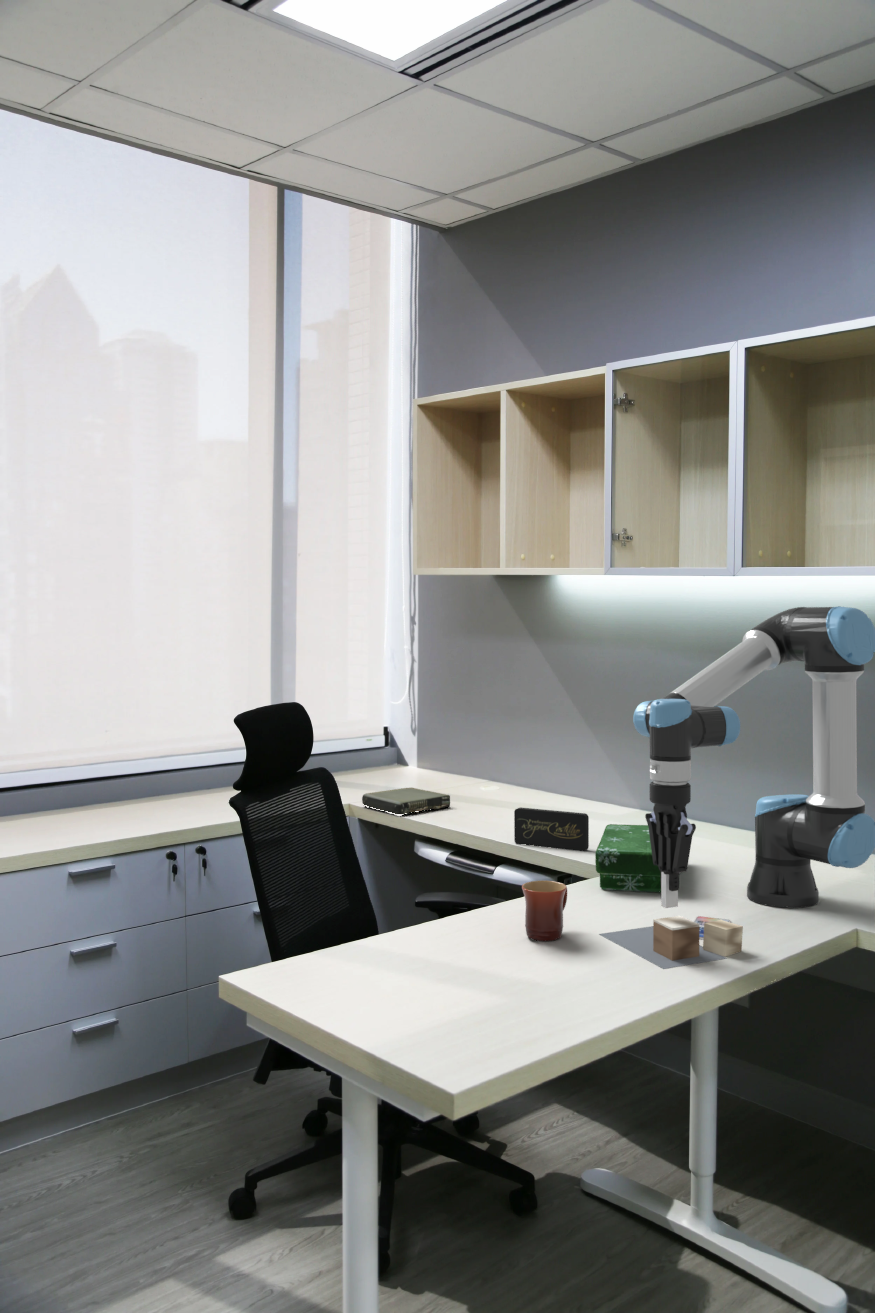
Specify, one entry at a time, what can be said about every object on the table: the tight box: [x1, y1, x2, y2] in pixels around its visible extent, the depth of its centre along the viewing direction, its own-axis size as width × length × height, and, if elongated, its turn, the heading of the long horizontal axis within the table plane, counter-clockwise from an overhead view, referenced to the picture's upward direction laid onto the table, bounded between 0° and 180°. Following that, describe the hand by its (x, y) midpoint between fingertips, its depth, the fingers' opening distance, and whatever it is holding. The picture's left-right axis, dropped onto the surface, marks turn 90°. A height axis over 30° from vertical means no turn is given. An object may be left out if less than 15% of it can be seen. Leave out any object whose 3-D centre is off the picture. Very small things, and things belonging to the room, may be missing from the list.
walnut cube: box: [652, 915, 700, 961], centre depth 196 cm, size 6×6×6 cm
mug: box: [521, 880, 568, 942], centre depth 208 cm, size 12×9×10 cm
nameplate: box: [513, 807, 590, 852], centre depth 285 cm, size 21×2×10 cm, turn 61°
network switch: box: [361, 787, 451, 814], centre depth 343 cm, size 23×23×5 cm
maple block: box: [702, 920, 744, 957], centre depth 197 cm, size 5×5×5 cm
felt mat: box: [598, 925, 728, 970], centre depth 200 cm, size 14×22×1 cm, turn 23°
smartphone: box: [692, 915, 732, 941], centre depth 211 cm, size 7×1×15 cm
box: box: [594, 823, 661, 894], centre depth 254 cm, size 32×18×10 cm, turn 166°
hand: (669, 906), depth 197 cm, fingers closed
